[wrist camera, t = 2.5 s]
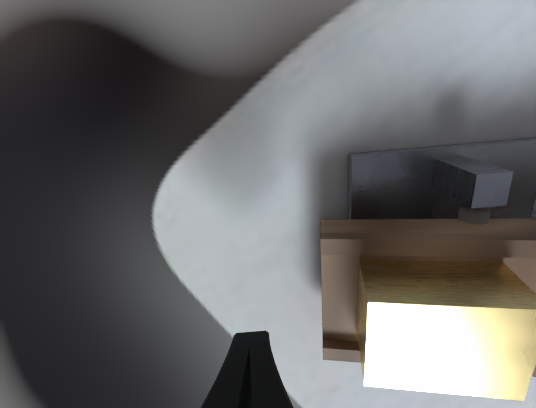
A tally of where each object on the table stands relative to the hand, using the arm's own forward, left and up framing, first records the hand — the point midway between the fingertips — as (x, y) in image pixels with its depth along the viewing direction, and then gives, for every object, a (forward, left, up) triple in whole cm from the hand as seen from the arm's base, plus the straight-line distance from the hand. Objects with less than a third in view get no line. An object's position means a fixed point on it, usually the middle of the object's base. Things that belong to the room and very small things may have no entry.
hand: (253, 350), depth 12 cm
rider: (-8, 0, -2) cm, 8 cm away
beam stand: (-11, 0, -6) cm, 12 cm away
